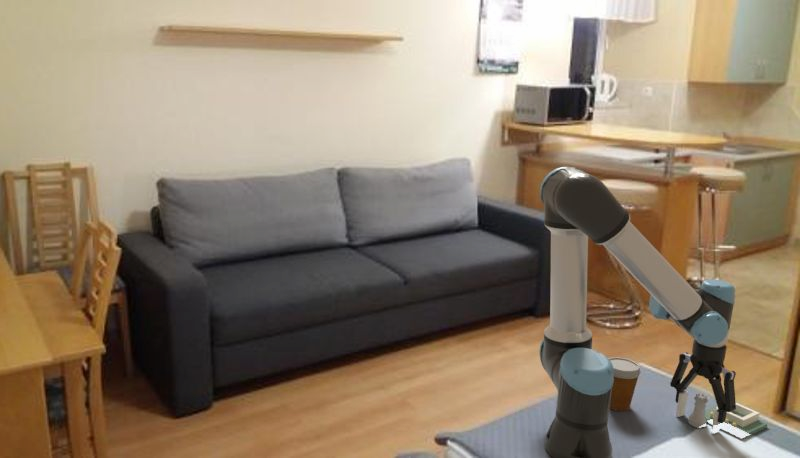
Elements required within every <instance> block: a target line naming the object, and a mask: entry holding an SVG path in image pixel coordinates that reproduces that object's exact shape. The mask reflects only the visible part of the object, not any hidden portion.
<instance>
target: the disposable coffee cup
mask: <svg viewBox="0 0 800 458" xmlns="http://www.w3.org/2000/svg"><path fill="white" fill-rule="evenodd" d="M608 359H609V360H610V361H611V363H612V365H613V369H614V372H613V374H614V376H613V377H614V381H613V386H612V393H611V400H610V408H609V409H611V410H614V411H618V412H625V411H628V410H630V407H631V403H632V401H633V396H634V393H635V389H636V385H637V381H638V378H639V377H640V375H641V373H642V371H641V370H642V369H640V368H641V367H640V365H639V364H638V363H637V362H636V361H634V360H632V359H630V358H625V357H618V356H617V357H609V358H608Z"/></svg>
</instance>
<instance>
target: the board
mask: <svg viewBox="0 0 800 458" xmlns="http://www.w3.org/2000/svg"><path fill="white" fill-rule="evenodd" d="M717 408H718V406H715V407H712V408H710V409H707V410H705V417H706V420H710V419H713V418H714V412H715V409H717ZM759 418H760V412H758V411H756V410H754V409H752V408H749V407H747V406H746V405H742V404H740V403H738V402H736V409H735V410H733V411H731V412H727V413H726V420H725V423H727V424H728V423H729V424H731V425H732V426H734V427H737V428H739V429H741V430H743V431H745V432H747V433H749V434H752V435H754V434H757V433H758V432H760V431H762V430H764V429H766V428H768V423H767V422H765V421H762V420H760V419H759Z"/></svg>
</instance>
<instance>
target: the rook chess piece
mask: <svg viewBox="0 0 800 458" xmlns="http://www.w3.org/2000/svg"><path fill="white" fill-rule="evenodd" d="M693 399H694V401H695V402H694V407H693V410H692V412H691V414H689V416H688V419H687V423H688V424H689V425H690V426H691V425H692V426H691V427H693V426H694V427H693V428H696V427H699V426H701V425H703V424H705V423H706V422H707V420H706V417H705V411H706V407H707V403H708V402H709V400H708V396H707V395H704V394H703V393H702V394H701V393H696V394H695V396H694V397H693ZM706 424H707V423H706Z"/></svg>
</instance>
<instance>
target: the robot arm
mask: <svg viewBox="0 0 800 458" xmlns="http://www.w3.org/2000/svg"><path fill="white" fill-rule="evenodd" d="M539 196H540V200H541V203H542V204H543V206H544V226H545V228H546V229H548V230H549V231H550V298H549V299H550V302H549V303H550V305H549V307H550V308H549V309H550V311H549V313H550V315H549V317H550V319H549V320H550V321H549V323H550V324H549V325H548V326H547V327H545V328H544V330H543V339H542V340H541V342H540V344H539V359H540V363H541V366H542V367H543V369H544V370H545V372H546V373H547V375H548V377H549V378H550V380H551V382H552V383H553V384H554V386H555V388H556V390H557V397H556V398H557V399H556V409H555V416H554V417H553V420H552V422H551V424H550V426H549V428H548V429H547V432H546V434H545V438H544V439H545V440H544V449H545V450H546V452H547V454H548V455H549V456H551V458H612V457H613V456H612V455H613V445H612V443H611V439H610V433H609V428H608V422H609V421H608V420H609V413H610V409H611V408H610V400H611V393H612V386H613V381H614V377H613V376H614V374H613V372H614V369H613V365H612V363H611V361H610V360H609V358H608V357H607V356H606V355H605V354H603V353H601V352H598V351H597V350H595V349H593V332H592V330H591V329H590V328H589V327H587V304H588V303H587V302H588V301H587V300H588V298H587V297H588V296H587V295H588V256H589V255H588V253H589V251H588V249H589V239H590V240H591V241H592V242H593V243H594V244H596V245H599V246H601V245H602V246H603V247H604V248H606V250H607V251H608V252H609V253H610V254H611V255H612V256H613V257H614V258H615V259H616V260H617V261H618V262H619V263H620V265H622V266H623V267H624V268H625V270H627V271H628V273H630V275H632V277H633V278H634V279H635V280H636V281H638V283H639V284H640V285H641V286H642V287H643V288H644V289H645V290H646V291H647V292H648V293H649V294H650V296H649V304H648V305H649V306H648V307H649V310H650V313H651V315H652V317H654V318H655V319H657V320H664V321H666V320H671V321H672V322H673V323H674V324H676V325H677V326H678V327H680V328H681V329H682V330H683V331H685V333H687V334H688V335H689V336H691V337H692V338H693V343H692V350H691V353H692V354H690V353H689V352H687V351H686V352H683V353H680V354H679V355H678V356H679V357H678V364H677V366H676V369H675V371H674V373H673V376H672V378H671V381H670V383H669V384H670V386H671V387H672V388H674V389H675V391H676V395H675V402H676V404H677V407H676V412H675V413H676V414H675V416H676V417H678V418H680V417H682V416H685V414H686V410H687V402H688V395H689V391H687V388H689V386H690V385H691V383H692V382H693V381H694V380H695V379H696V378H697V376H700V377H703V378H705V379H707V380H708V383H709V385H711V386H710V387H711V388H712V392H713V395H714V399H715V402H716V405H717V406H718V408H717V409H715V412H714V418H713V425H718V424H720V423H723V422H725V420H726V413H727V412H731V411H733V410H735V409H736V403H737V402H736V390H735V378H736V374H737V372H735V370H729V369H727V368H726V367H725V364H724V361H725V359H726V354H727V344H728V340H729V335H730V328H731V321H732V315H733V309H734V305H735V297H736V288H735V286H734V285H733V284H732V283H730V282H728V281H725V280H721V279H711V278H710V279H705V280H704V281H702V283H701V286H700V288H694V287H692V286H691V285H690V283H688V281H687V280H686V279H684V277H683V276H682V275H681V274H680V273H679V272H678V271H677V270H676V269H675V268H674V266H672V264H671V263H669V262H668V260H667V259H666V258H665V257H664V256H663V255H662V254H661V253H660V252H659V250H658V249H656V248H655V246H653V245H652V243H651V242H650V241H649V240H648V239H647V238H646V237H645V236H644V235H643V234H642V232H641V231H640V230H639V229H638V228H637V227H636V226H635V225H634V224H633V223H632V222H631V214H630V213H629V212H628V211H627V209H625V207H624V206H623V205H622V204H621V202H620V201H619V200H618V199H617V198H616V197H615V195H613V193H612V192H611V190H610V189H609V188H608V187H607V185H606V184H605V183H604V182H603V181H602V180H600V179H599V178H598V177H596V176H595V175H592V174H589V173H587V172H585V171H584V170H582V169H580V168H578V167H573V166H572V167H571V166H562V167H557V168H555V169H553V170H551V171H550V172H549V173H547V174H546V176H545V177H544V178H543V180H542V182H541V184H540V189H539ZM689 363H691V365H692V368H691V369H690V370H689V371H688V373H687V375H686V376H685V377H684V375H685V372H686V370H687V368H688V365H689ZM721 374H722V377H721ZM683 377H684V378H683ZM722 378H723V385H722Z"/></svg>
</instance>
